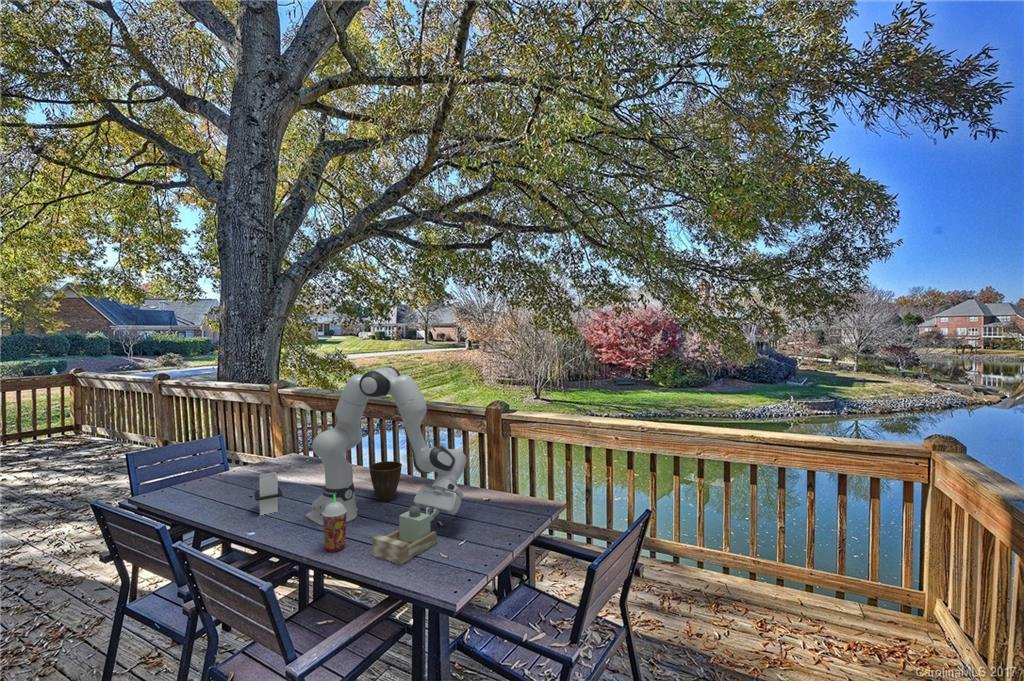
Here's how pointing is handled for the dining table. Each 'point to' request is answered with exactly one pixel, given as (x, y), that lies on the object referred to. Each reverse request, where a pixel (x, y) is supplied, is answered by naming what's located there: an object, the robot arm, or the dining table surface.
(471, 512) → the dining table surface
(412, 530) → the slider
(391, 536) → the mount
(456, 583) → the dining table surface
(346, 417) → the robot arm
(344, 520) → the smoothie
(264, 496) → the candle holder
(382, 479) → the plant pot
